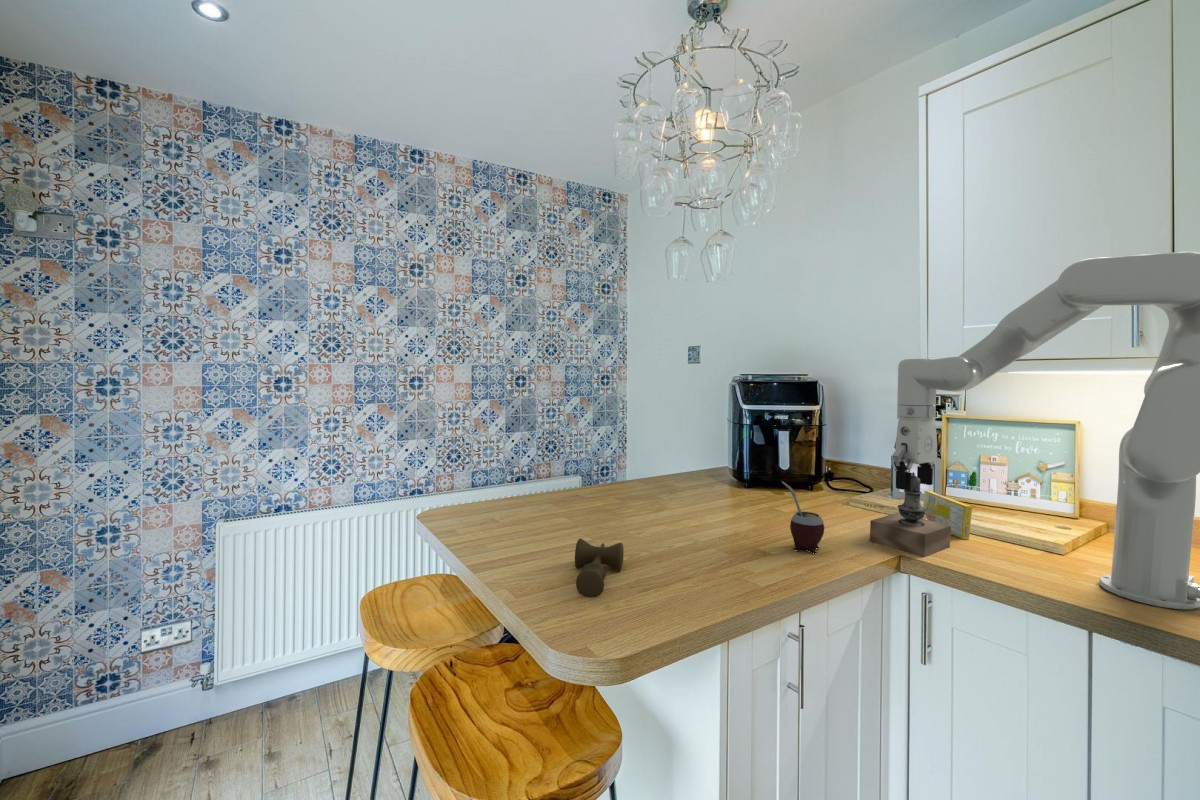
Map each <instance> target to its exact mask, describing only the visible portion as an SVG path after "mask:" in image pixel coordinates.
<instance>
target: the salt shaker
mask: <svg viewBox="0 0 1200 800" xmlns="http://www.w3.org/2000/svg"><path fill="white" fill-rule="evenodd" d="M911 473H912V489H911V490H909V491H908V490H903V492H904V501H903V503H902V504H898V505H897V508H898V513H899V514H900V515H901V516H902V517H904V518H903V519H900V520H898V522H899V523H901V524H904V525H908V526H915V527H921V526H924V525H925V524H924V523H923V522H921V521H919V520H920V519H922V518H923V517H924V515H925V512H926V511H927V509H925V508H923V505H922V504H921V494H923V492H922V491H921V484H920V479H919V478H918V477H917V475H916V473H915V471H913V472H911Z"/></svg>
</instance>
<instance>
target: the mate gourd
mask: <svg viewBox="0 0 1200 800" xmlns="http://www.w3.org/2000/svg"><path fill="white" fill-rule="evenodd" d="M781 483H782V484H783V485H784V486H785V487H786V488H787V489H788V490H789V491H790V493H791V495H792V497H793V500H794V503H795V505H796V508H797V511H796V512H795V513H794V514H793V516H792V517H791V519H790V526H789V527H790V533H791V537H792V538H793V543H794V547H793V548H792V549H793V551H794V550H804V551H806V550H808V551H810V552H812V553H814V554H813V555H816V554H815V553H817V551H816V550H817V549H816V548H819V549H820V546H819V544H820V542H821V541H822V539H823V536H824V533H825V524H824V520H823V519H822V517H821V516H820V514H818V513H815V512H810V511H802V510H801V507H800V504H799V501H798V499H797V494H796V492H795V490H794V489H793V488H792V487H791V486H790V485H788V484H787V483H786V482H784V481H781ZM808 551H807V552H808ZM810 552H809V553H810ZM812 553H811V554H812ZM817 554H818V553H817Z"/></svg>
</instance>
